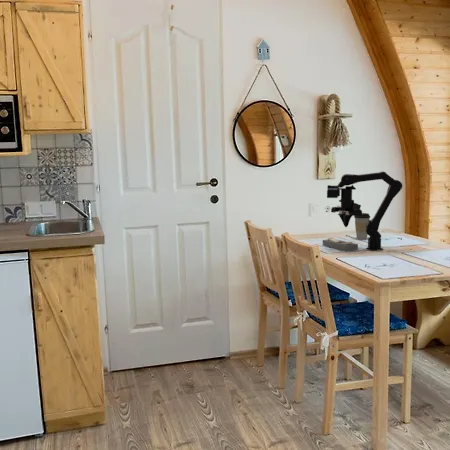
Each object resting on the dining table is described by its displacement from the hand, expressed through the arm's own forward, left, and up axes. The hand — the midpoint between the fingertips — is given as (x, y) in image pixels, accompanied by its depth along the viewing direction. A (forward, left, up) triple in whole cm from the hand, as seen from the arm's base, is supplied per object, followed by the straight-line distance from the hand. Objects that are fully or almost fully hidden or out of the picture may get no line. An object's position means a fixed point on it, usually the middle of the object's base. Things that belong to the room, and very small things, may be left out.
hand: (346, 226), depth 280 cm
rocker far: (+10, 0, -9) cm, 13 cm away
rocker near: (0, 0, -9) cm, 9 cm away
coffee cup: (+19, -28, -12) cm, 36 cm away
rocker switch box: (+5, 0, -12) cm, 13 cm away
